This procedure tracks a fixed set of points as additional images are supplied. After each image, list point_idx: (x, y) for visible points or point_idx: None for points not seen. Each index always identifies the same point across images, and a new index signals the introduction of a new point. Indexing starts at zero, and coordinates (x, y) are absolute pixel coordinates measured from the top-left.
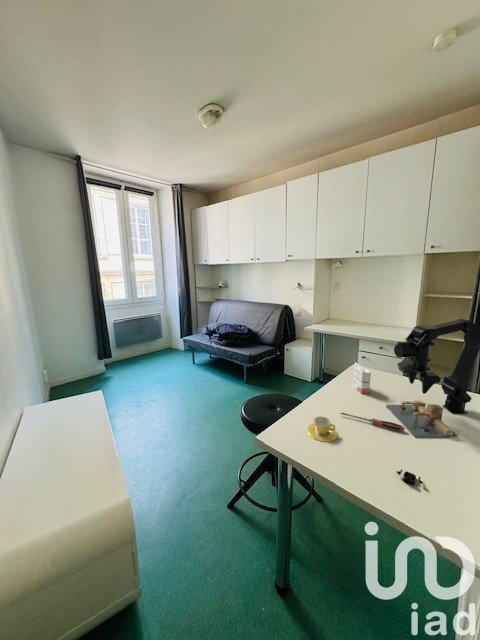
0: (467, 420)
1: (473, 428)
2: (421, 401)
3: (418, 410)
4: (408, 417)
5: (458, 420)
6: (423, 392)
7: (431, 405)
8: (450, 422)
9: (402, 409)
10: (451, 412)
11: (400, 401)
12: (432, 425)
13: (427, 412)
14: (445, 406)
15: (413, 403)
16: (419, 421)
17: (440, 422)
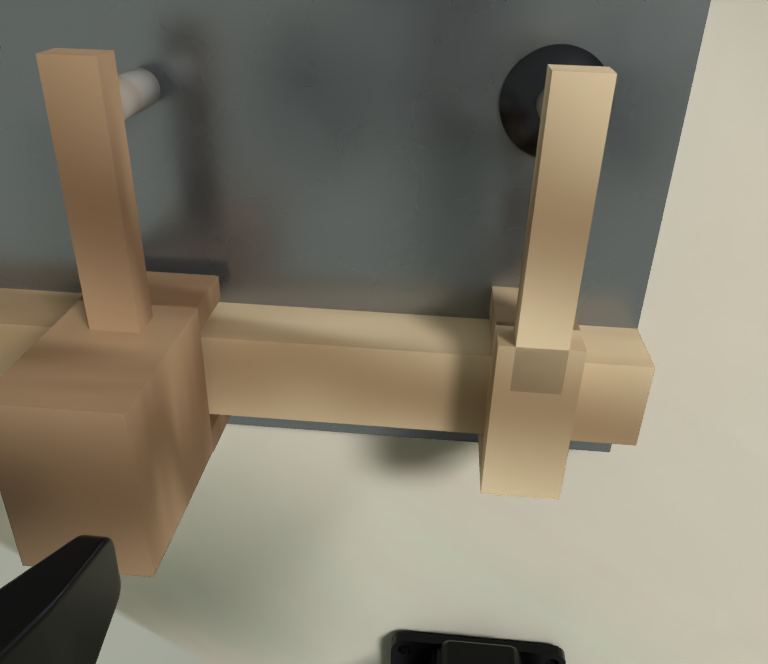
0: (273, 660)
1: (135, 616)
2: (536, 464)
3: (455, 316)
4: (240, 11)
5: (269, 597)
6: (45, 564)
7: (93, 459)
8: (223, 508)
9: (513, 65)
10: (407, 636)
11: (608, 74)
12: (54, 254)
13: (131, 322)
14: (498, 660)
15: (518, 309)
16: (134, 131)
17: (4, 361)
